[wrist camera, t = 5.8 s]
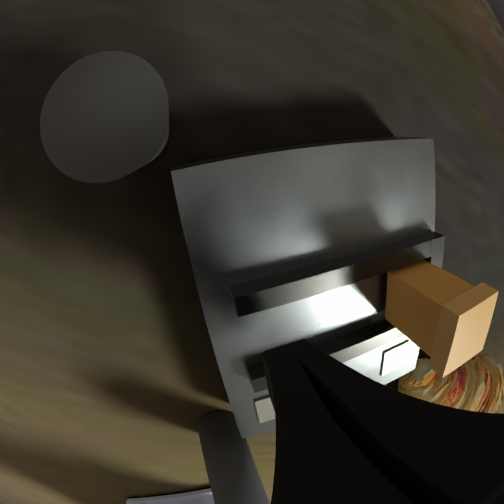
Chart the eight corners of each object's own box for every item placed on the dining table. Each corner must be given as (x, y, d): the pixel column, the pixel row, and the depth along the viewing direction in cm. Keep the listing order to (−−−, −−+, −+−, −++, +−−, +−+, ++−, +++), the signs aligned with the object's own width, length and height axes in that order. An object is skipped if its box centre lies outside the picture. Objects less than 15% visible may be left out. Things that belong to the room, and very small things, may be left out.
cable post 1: (111, 173, 10) (52, 199, 5) (100, 111, 9) (34, 75, 4) (174, 157, 10) (179, 164, 5) (163, 95, 10) (159, 37, 4)
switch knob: (380, 323, 12) (442, 378, 8) (383, 267, 11) (459, 316, 7) (420, 305, 12) (482, 350, 9) (426, 253, 11) (498, 291, 8)
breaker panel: (230, 404, 15) (246, 451, 12) (170, 167, 11) (170, 173, 8) (390, 346, 17) (423, 376, 14) (395, 136, 12) (447, 139, 9)
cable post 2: (203, 439, 15) (225, 525, 10) (192, 416, 15) (212, 511, 9) (242, 430, 16) (273, 513, 10) (235, 406, 15) (268, 498, 10)
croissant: (341, 362, 21) (348, 466, 15) (461, 292, 16) (504, 406, 10) (436, 409, 29) (446, 466, 23) (506, 371, 24) (523, 430, 17)
